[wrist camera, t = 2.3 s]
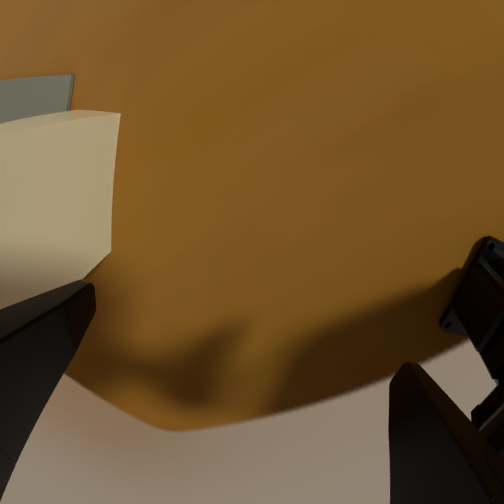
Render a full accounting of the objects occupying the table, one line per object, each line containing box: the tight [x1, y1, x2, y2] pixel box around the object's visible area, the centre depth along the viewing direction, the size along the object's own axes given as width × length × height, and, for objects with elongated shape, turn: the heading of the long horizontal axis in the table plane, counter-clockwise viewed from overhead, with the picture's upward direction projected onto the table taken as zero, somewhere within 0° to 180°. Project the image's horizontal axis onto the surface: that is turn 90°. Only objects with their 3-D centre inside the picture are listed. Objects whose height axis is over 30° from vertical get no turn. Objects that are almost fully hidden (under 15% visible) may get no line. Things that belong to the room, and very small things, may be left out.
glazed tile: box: [0, 110, 121, 309], centre depth 11 cm, size 3×8×10 cm, turn 167°
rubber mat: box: [0, 75, 75, 123], centre depth 15 cm, size 11×12×1 cm
